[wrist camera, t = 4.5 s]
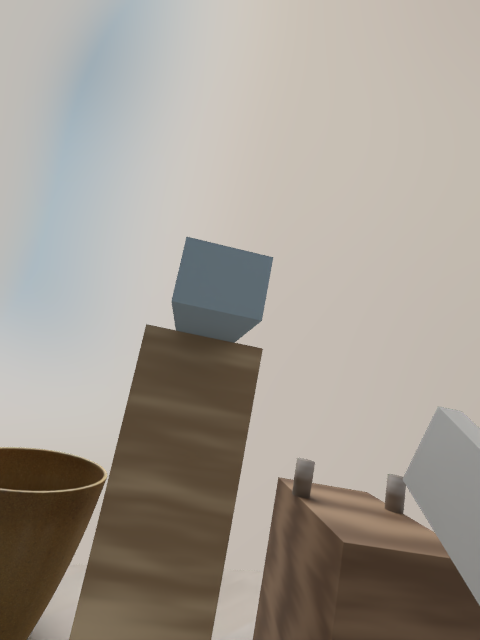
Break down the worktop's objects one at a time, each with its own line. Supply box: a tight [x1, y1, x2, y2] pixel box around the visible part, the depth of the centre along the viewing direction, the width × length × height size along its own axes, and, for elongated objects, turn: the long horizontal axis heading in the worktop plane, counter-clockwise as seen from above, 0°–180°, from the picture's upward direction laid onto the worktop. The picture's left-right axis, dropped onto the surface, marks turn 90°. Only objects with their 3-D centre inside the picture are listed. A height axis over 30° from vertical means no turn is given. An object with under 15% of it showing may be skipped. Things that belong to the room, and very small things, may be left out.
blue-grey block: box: [172, 237, 273, 343], centre depth 27 cm, size 22×4×3 cm, turn 9°
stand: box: [69, 325, 263, 640], centre depth 28 cm, size 14×8×30 cm, turn 9°
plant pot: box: [0, 447, 107, 640], centre depth 35 cm, size 15×15×16 cm
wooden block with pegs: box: [253, 458, 480, 640], centre depth 29 cm, size 16×11×22 cm, turn 9°
